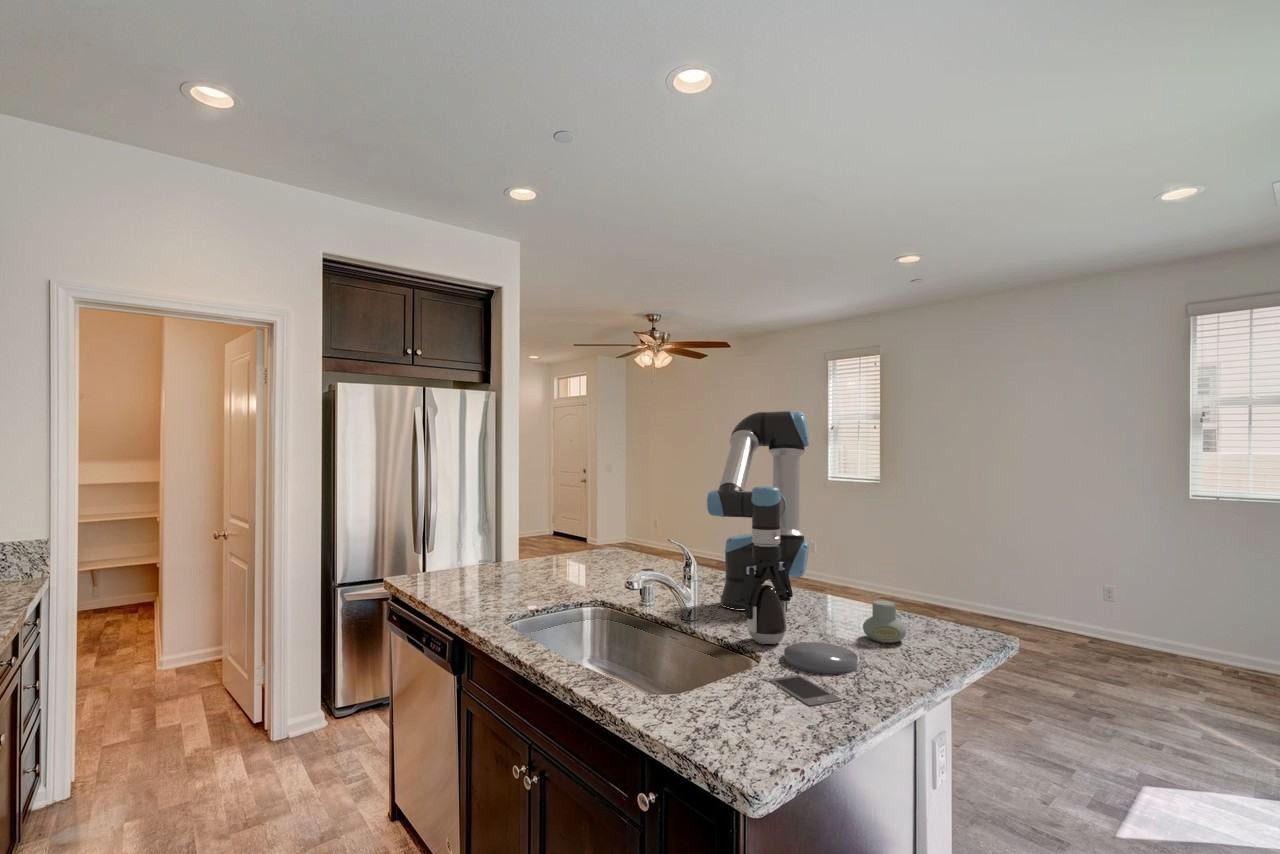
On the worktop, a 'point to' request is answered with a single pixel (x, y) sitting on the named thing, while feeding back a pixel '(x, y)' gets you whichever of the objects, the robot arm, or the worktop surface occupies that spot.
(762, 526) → the robot arm
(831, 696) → the smartphone
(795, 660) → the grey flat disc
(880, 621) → the air freshener
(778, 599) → the pump dispenser
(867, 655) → the worktop surface
